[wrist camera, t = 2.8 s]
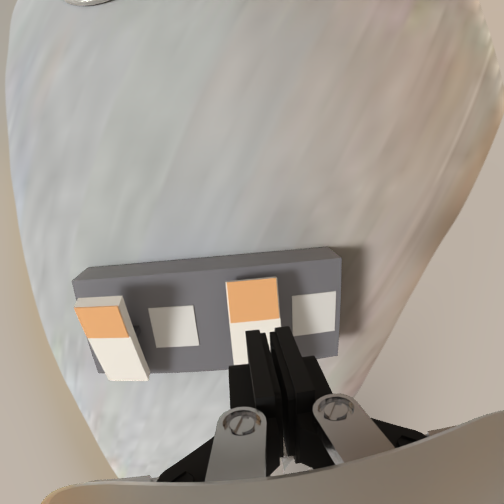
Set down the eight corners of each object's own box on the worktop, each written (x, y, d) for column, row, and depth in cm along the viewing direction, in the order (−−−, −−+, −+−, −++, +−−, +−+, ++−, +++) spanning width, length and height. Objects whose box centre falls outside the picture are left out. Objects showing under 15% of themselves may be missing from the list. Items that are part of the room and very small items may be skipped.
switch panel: (87, 267, 29) (64, 286, 24) (327, 246, 31) (347, 262, 26) (109, 352, 32) (94, 381, 27) (326, 336, 34) (342, 363, 28)
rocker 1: (78, 298, 23) (73, 308, 22) (122, 295, 23) (118, 306, 22) (111, 371, 27) (109, 381, 26) (150, 371, 28) (148, 381, 26)
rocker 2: (225, 281, 26) (225, 282, 25) (274, 276, 26) (277, 277, 25) (236, 384, 26) (236, 390, 25) (282, 379, 26) (285, 385, 25)
